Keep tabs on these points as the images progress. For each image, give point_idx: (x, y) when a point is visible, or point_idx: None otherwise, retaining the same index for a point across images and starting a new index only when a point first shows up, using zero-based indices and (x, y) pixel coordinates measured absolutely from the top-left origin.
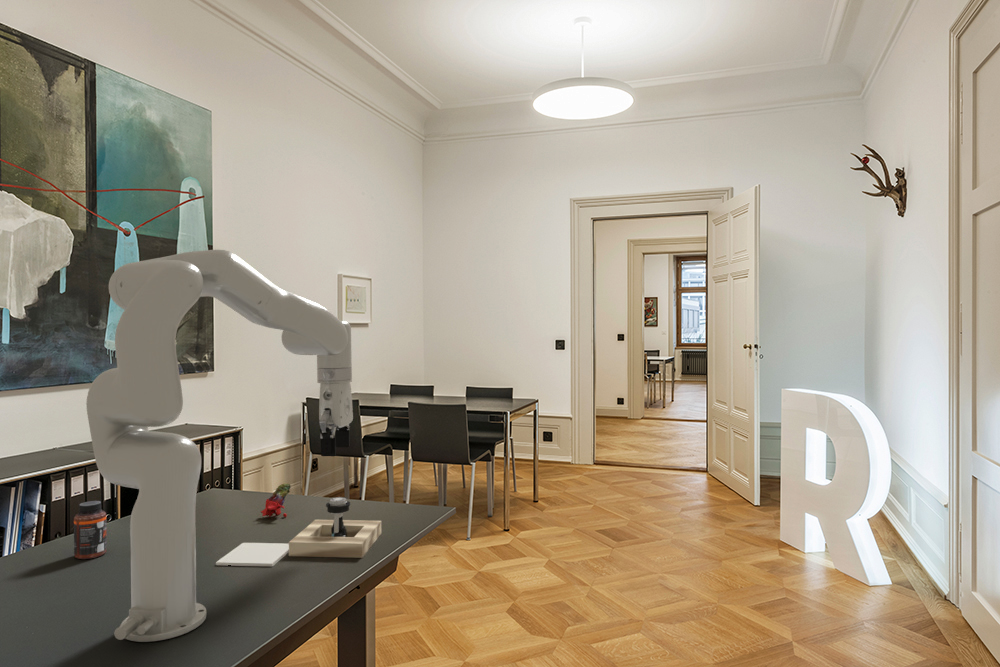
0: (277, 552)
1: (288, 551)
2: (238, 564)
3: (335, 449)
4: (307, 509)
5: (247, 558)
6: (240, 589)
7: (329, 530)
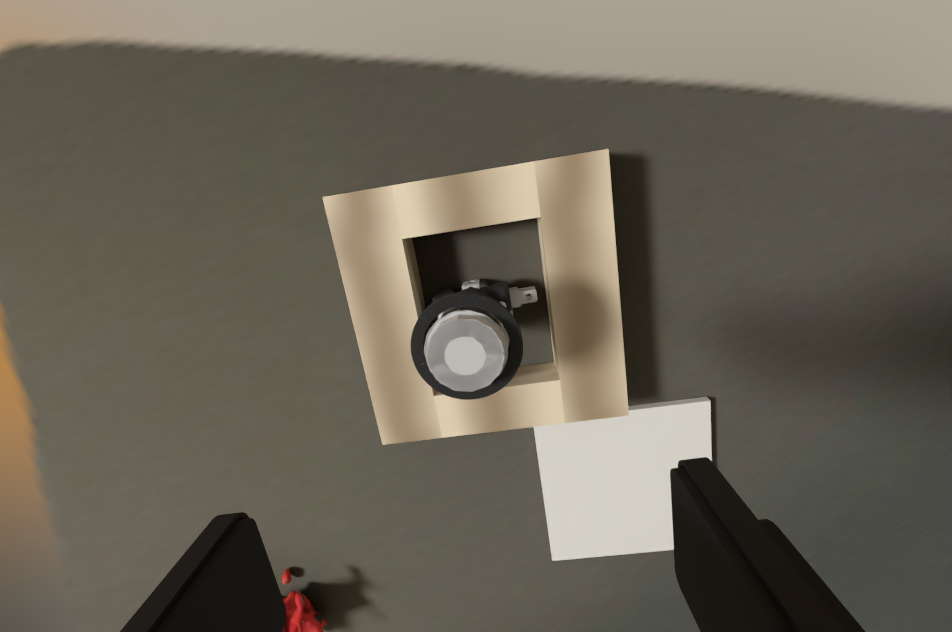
0: (616, 433)
1: None
2: None
3: (730, 499)
4: None
5: None
6: (881, 391)
7: None
